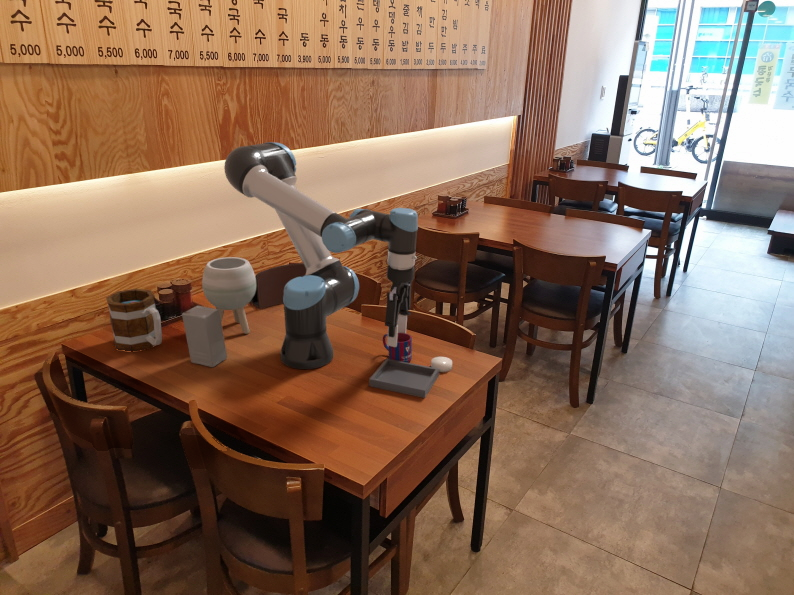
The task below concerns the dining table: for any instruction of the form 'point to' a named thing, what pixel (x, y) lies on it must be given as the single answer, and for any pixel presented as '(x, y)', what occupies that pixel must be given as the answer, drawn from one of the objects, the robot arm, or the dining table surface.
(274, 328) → the dining table surface
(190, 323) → the skincare box
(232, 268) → the planter
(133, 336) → the mug
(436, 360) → the white rounded flat piece
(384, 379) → the tray
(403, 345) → the cup
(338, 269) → the robot arm
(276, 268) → the letter holder
